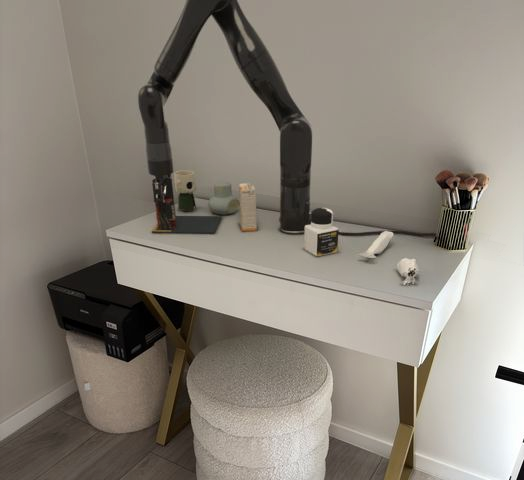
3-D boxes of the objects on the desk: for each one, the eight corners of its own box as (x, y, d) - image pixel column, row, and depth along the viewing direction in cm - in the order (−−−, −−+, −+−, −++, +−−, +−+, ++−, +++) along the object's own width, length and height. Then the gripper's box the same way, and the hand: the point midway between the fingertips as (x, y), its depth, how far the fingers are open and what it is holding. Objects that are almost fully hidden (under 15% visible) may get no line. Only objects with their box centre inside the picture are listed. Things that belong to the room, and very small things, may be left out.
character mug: (188, 215, 183) (184, 177, 177) (170, 213, 186) (166, 175, 179) (203, 206, 192) (201, 169, 185) (186, 204, 194) (183, 168, 188)
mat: (221, 217, 181) (221, 215, 180) (214, 234, 167) (214, 231, 167) (164, 217, 182) (163, 215, 182) (152, 233, 169) (151, 231, 168)
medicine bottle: (316, 257, 150) (318, 215, 143) (303, 249, 155) (304, 208, 149) (337, 252, 153) (340, 211, 146) (324, 244, 158) (326, 204, 152)
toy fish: (396, 244, 157) (398, 231, 155) (374, 265, 144) (376, 251, 142) (378, 241, 160) (380, 228, 158) (355, 261, 147) (357, 248, 144)
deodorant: (175, 230, 169) (170, 182, 161) (156, 230, 169) (150, 182, 161) (178, 224, 174) (173, 177, 166) (159, 224, 174) (154, 177, 166)
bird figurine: (423, 288, 134) (413, 264, 141) (423, 267, 130) (413, 243, 137) (403, 291, 135) (394, 267, 142) (403, 271, 130) (394, 247, 137)
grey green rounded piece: (224, 218, 180) (222, 188, 175) (205, 214, 184) (203, 185, 179) (242, 210, 188) (241, 181, 183) (224, 206, 192) (222, 178, 186)
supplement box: (257, 230, 169) (256, 189, 162) (242, 231, 169) (240, 190, 162) (254, 222, 176) (253, 182, 169) (239, 223, 176) (238, 183, 169)
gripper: (166, 162, 154) (172, 217, 162) (176, 152, 166) (181, 203, 174) (140, 162, 154) (148, 217, 163) (153, 152, 166) (159, 203, 175)
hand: (165, 210), depth 169 cm, fingers open, 8 cm apart
